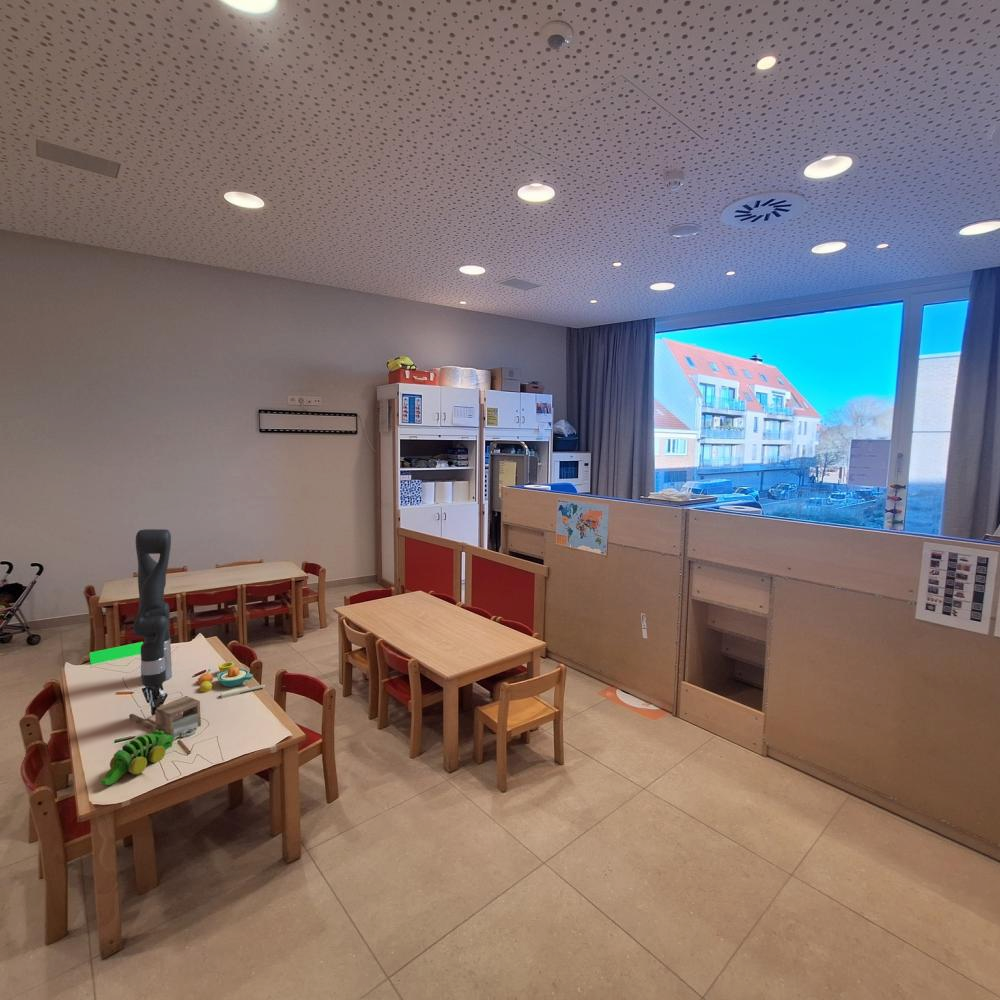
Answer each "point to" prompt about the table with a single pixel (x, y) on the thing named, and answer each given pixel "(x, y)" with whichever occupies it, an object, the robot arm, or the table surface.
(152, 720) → the pink flat slab
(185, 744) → the table surface
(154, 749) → the toy alligator
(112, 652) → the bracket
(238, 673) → the toy juicer set
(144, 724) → the wooden crate
